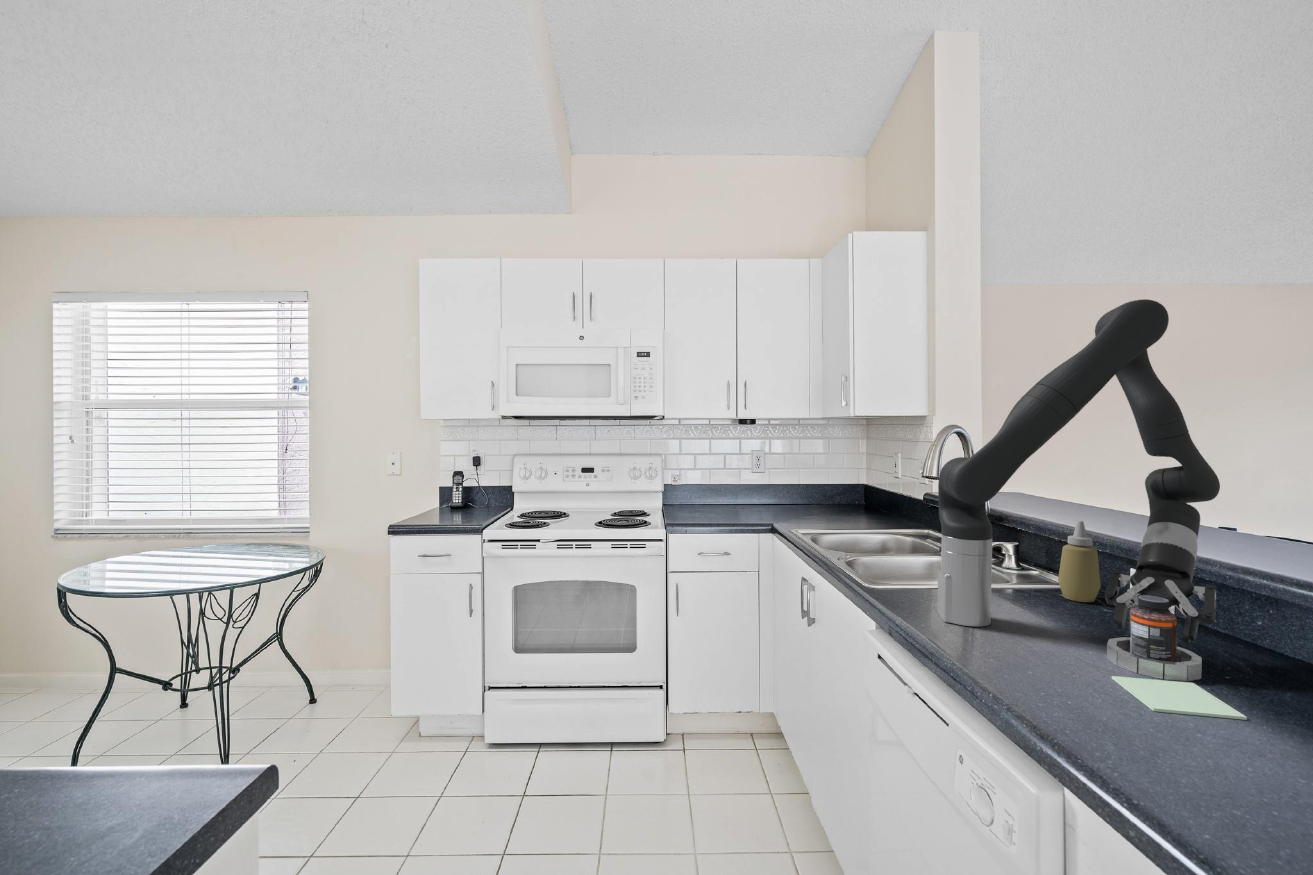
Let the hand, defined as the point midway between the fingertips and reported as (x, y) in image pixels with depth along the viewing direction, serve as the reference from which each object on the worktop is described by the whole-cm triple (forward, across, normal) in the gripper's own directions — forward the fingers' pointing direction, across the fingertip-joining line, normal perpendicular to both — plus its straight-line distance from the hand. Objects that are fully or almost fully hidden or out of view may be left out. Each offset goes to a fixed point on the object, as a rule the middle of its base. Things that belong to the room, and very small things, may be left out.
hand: (1152, 632), depth 99 cm
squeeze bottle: (-22, -19, +30) cm, 42 cm away
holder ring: (+3, 0, +5) cm, 6 cm away
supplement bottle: (+3, 0, +5) cm, 6 cm away
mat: (+12, +5, -4) cm, 14 cm away
